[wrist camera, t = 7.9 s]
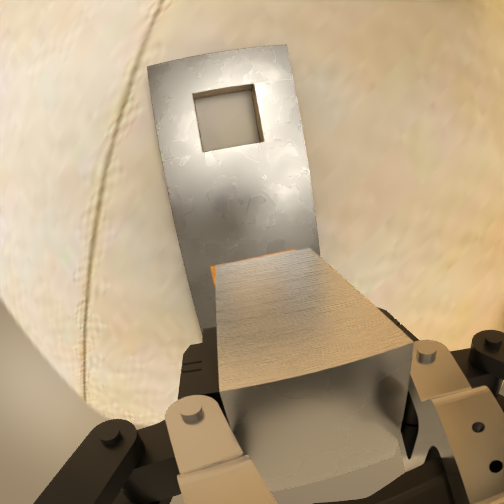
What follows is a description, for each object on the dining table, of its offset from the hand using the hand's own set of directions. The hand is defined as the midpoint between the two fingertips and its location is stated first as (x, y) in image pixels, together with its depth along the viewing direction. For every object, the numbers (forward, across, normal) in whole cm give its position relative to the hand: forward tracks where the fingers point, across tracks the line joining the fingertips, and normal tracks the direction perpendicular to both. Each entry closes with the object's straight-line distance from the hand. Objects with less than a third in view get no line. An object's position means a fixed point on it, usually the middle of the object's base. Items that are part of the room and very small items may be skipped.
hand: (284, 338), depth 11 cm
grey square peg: (+3, 0, 0) cm, 3 cm away
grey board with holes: (+20, -1, -2) cm, 20 cm away
